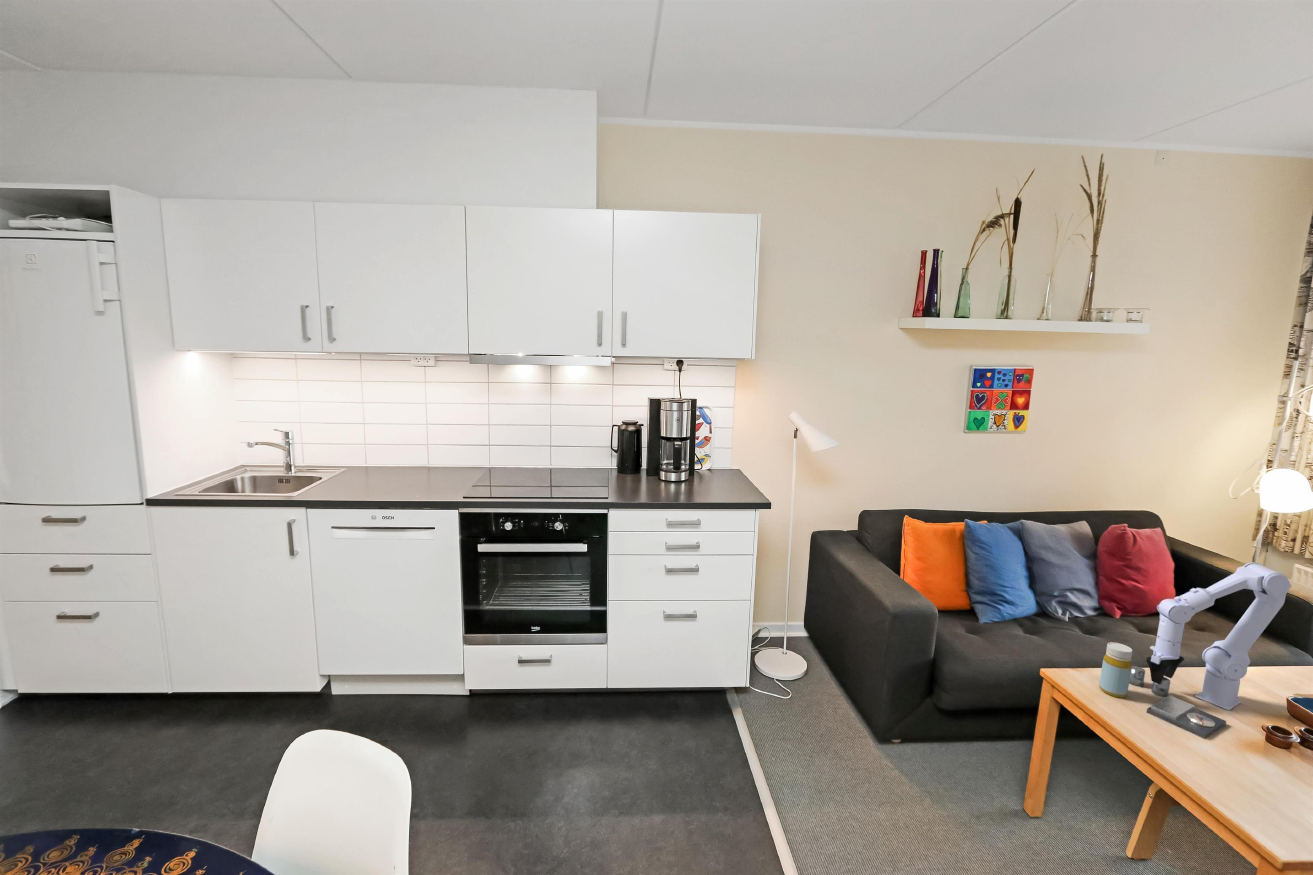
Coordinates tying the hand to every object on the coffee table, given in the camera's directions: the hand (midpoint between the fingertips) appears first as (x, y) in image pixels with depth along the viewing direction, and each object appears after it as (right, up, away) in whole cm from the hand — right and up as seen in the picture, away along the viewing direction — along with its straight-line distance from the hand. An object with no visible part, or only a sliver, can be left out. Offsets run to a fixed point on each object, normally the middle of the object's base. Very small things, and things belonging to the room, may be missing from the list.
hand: (1161, 679), depth 187 cm
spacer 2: (0, -5, +1) cm, 5 cm away
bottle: (-15, -4, +1) cm, 15 cm away
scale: (-3, -6, -12) cm, 14 cm away
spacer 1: (-3, -4, +6) cm, 8 cm away
